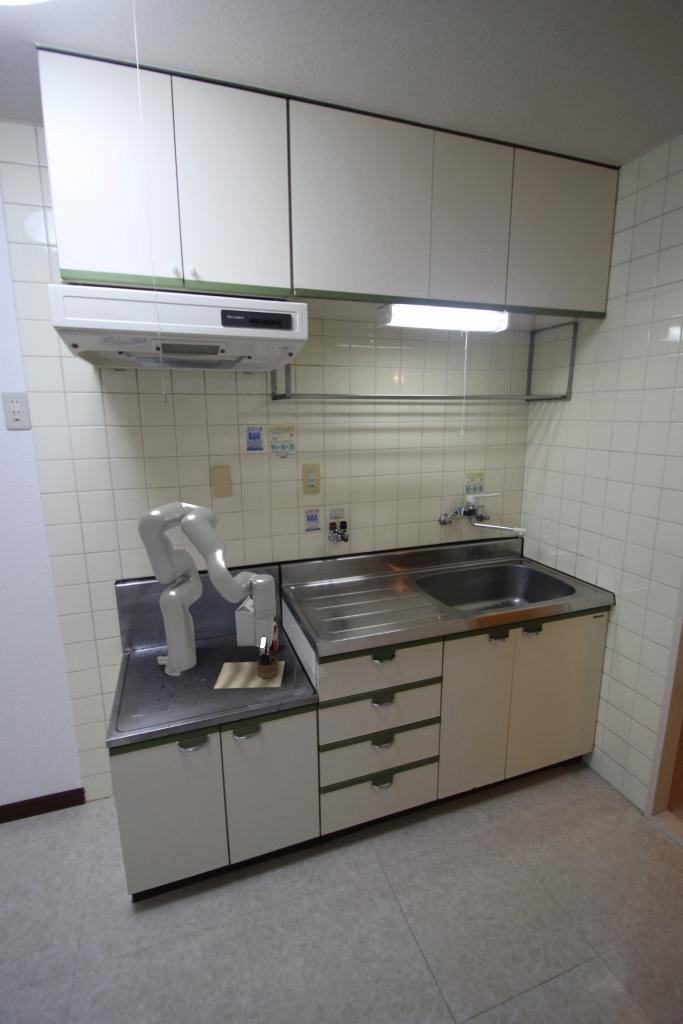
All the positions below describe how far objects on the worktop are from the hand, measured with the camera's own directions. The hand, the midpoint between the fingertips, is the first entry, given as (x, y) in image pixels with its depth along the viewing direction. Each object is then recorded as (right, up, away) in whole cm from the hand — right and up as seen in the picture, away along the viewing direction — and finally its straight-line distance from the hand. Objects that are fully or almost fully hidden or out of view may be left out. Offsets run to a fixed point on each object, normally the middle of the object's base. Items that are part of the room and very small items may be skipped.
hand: (267, 657), depth 161 cm
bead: (0, -6, +1) cm, 6 cm away
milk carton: (-11, -3, +26) cm, 28 cm away
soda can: (-2, -4, +18) cm, 19 cm away
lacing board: (-6, -8, +2) cm, 10 cm away
